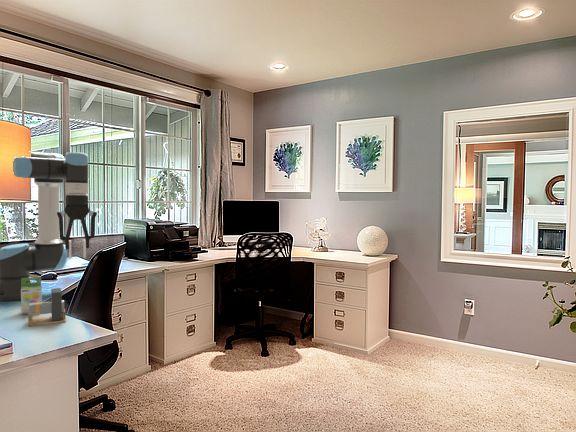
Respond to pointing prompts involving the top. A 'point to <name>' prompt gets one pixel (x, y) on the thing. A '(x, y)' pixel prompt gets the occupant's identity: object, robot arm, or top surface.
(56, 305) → the grey upright block
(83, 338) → the top surface
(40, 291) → the ink box
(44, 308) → the pipe
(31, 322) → the board
